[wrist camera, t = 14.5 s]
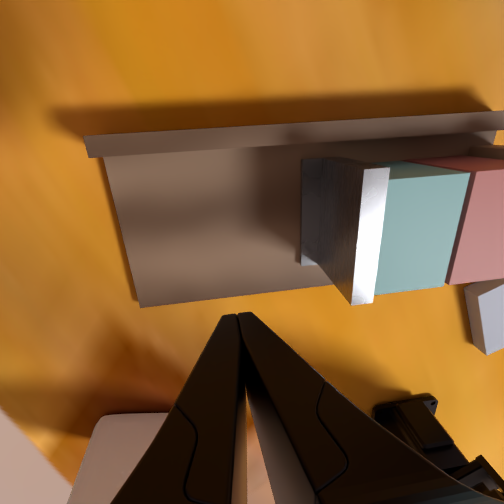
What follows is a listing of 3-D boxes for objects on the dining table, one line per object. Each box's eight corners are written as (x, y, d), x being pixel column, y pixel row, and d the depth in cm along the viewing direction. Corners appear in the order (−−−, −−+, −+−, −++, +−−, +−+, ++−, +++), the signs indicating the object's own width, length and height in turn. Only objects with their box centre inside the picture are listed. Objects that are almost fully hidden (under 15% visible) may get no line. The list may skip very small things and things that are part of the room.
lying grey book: (519, 318, 27) (539, 330, 25) (469, 341, 27) (486, 355, 26) (515, 258, 24) (538, 268, 23) (459, 285, 24) (478, 296, 23)
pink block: (442, 241, 21) (514, 276, 16) (390, 247, 21) (448, 285, 16) (461, 155, 19) (553, 165, 14) (403, 159, 18) (476, 171, 13)
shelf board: (455, 265, 23) (533, 309, 17) (142, 303, 20) (117, 368, 15) (493, 111, 19) (614, 104, 13) (101, 134, 16) (45, 138, 11)
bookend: (333, 260, 20) (372, 302, 16) (299, 264, 20) (329, 308, 15) (339, 156, 18) (390, 167, 13) (301, 159, 17) (337, 171, 13)
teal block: (386, 248, 21) (443, 286, 16) (332, 254, 20) (373, 295, 15) (398, 160, 18) (470, 172, 13) (338, 165, 18) (388, 179, 13)
